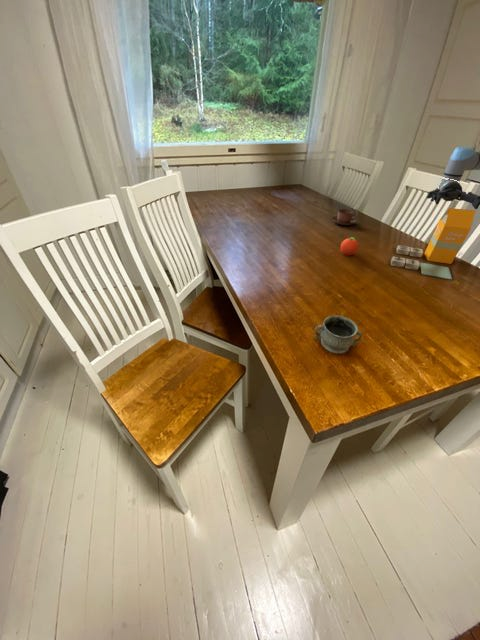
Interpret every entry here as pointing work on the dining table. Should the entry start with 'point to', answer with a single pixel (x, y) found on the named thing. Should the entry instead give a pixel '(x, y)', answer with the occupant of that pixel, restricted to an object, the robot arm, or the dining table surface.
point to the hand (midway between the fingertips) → (457, 203)
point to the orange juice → (449, 235)
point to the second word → (422, 267)
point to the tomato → (349, 246)
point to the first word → (409, 251)
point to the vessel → (338, 334)
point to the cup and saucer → (345, 217)
